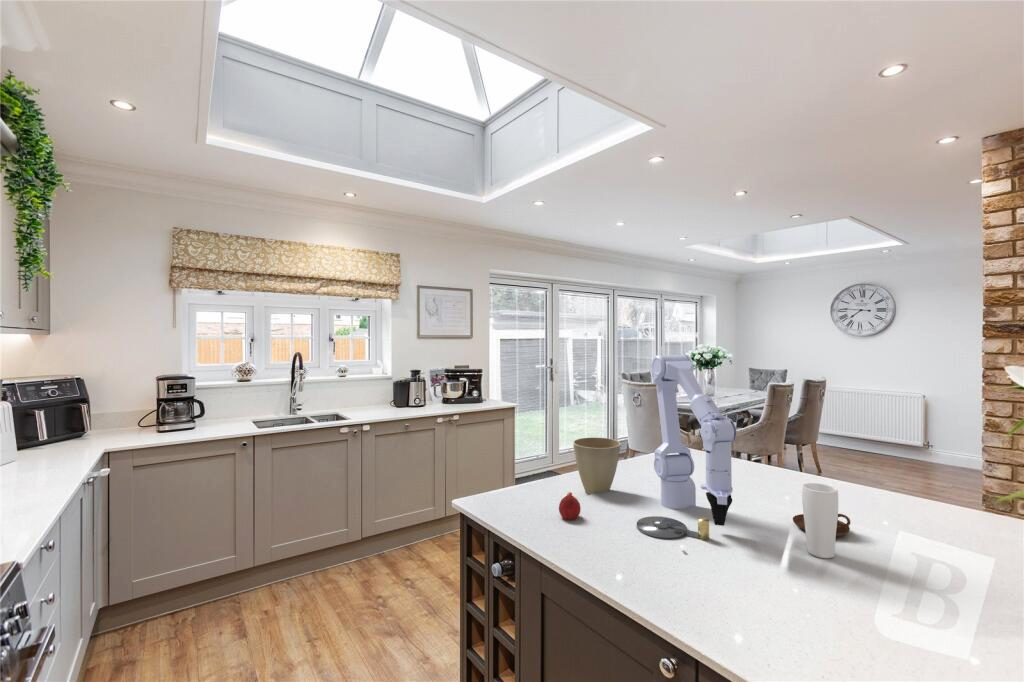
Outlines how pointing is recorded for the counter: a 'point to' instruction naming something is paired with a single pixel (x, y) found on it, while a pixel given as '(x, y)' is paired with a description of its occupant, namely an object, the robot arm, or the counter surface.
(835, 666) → the counter surface
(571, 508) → the onion
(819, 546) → the drinking glass
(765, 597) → the counter surface
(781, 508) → the counter surface
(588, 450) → the plant pot
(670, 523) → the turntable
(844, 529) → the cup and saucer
